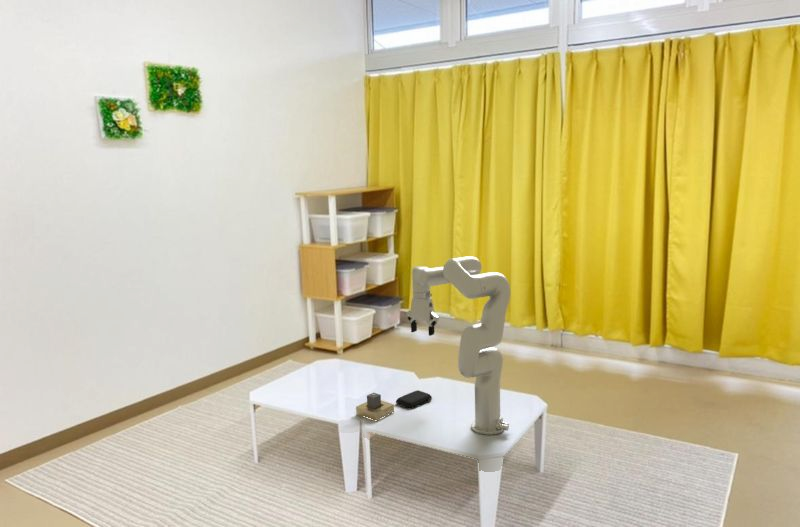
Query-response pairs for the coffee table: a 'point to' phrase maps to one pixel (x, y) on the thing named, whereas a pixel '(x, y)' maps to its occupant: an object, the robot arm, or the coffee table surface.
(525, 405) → the coffee table surface
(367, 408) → the socket plate
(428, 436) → the coffee table surface
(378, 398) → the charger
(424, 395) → the carrying case or bag
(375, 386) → the coffee table surface
